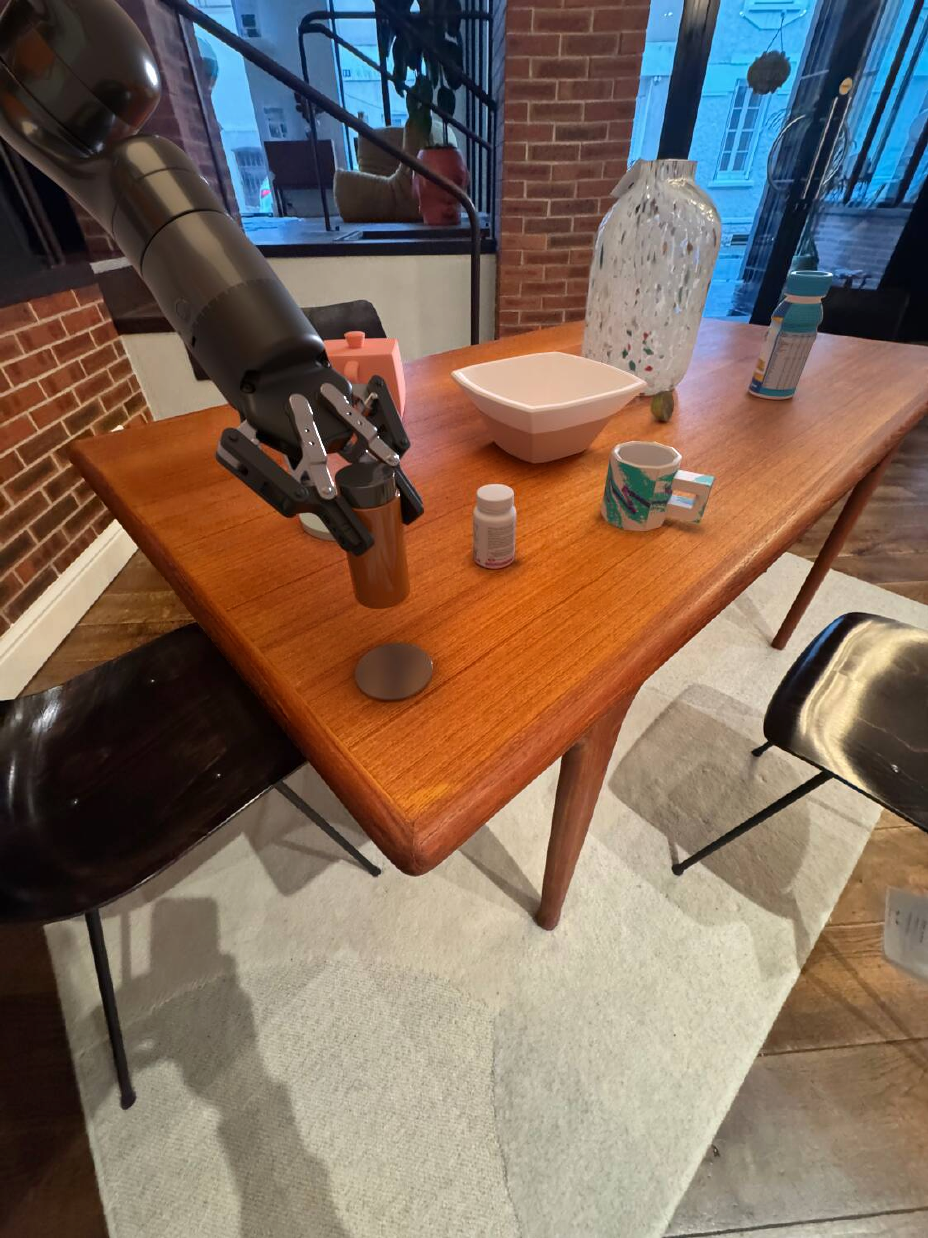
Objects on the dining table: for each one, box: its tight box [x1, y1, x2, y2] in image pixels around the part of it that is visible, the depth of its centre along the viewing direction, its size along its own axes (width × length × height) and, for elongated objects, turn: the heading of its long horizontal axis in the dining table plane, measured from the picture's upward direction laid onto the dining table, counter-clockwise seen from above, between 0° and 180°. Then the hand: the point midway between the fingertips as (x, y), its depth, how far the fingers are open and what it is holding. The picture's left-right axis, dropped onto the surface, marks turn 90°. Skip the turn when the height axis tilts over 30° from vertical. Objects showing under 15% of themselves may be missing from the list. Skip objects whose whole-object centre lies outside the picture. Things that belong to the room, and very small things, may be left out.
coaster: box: [354, 642, 434, 703], centre depth 47 cm, size 7×7×1 cm
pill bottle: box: [472, 483, 517, 570], centre depth 58 cm, size 5×5×8 cm
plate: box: [298, 486, 337, 542], centre depth 69 cm, size 13×13×1 cm
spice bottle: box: [333, 462, 411, 610], centre depth 38 cm, size 4×4×10 cm
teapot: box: [322, 330, 406, 421], centre depth 93 cm, size 20×22×14 cm
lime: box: [649, 389, 675, 422], centre depth 92 cm, size 4×5×5 cm
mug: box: [600, 440, 716, 532], centre depth 64 cm, size 8×12×8 cm
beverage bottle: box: [748, 270, 834, 401], centre depth 96 cm, size 8×8×20 cm
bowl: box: [450, 351, 648, 465], centre depth 82 cm, size 24×25×11 cm
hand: (391, 533), depth 37 cm, fingers closed on spice bottle, 4 cm apart
